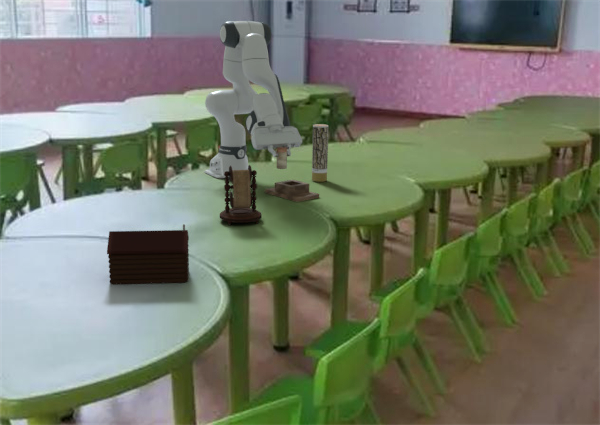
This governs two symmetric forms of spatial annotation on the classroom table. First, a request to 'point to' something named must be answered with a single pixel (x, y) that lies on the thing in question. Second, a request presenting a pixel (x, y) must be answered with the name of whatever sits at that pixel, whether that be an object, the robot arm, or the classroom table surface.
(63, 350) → the classroom table surface
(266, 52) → the robot arm
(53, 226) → the classroom table surface
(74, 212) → the classroom table surface
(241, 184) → the scroll
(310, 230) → the classroom table surface
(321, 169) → the paper tube
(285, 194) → the socket board
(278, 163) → the peg
